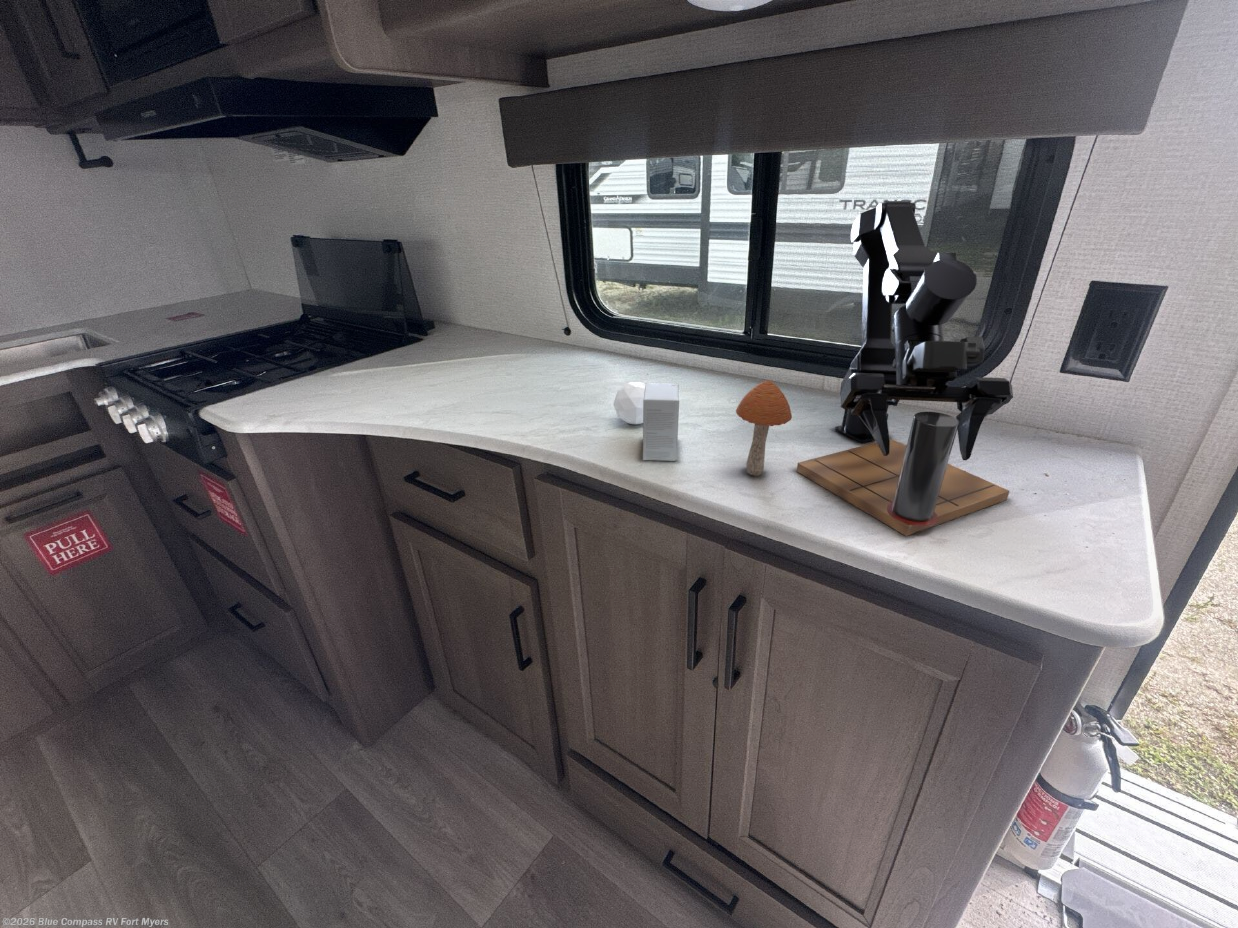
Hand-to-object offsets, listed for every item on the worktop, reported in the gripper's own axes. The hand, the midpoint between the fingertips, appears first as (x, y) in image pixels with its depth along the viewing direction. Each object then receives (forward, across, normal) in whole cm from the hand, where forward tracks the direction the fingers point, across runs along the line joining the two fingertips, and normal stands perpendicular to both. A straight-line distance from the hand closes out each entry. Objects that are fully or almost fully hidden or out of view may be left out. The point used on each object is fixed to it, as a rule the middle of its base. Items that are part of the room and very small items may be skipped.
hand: (926, 457), depth 69 cm
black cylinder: (+6, 0, +6) cm, 8 cm away
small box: (-5, -34, +19) cm, 40 cm away
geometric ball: (-14, -40, +28) cm, 51 cm away
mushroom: (-1, -19, +15) cm, 24 cm away
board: (-1, +1, +14) cm, 14 cm away
